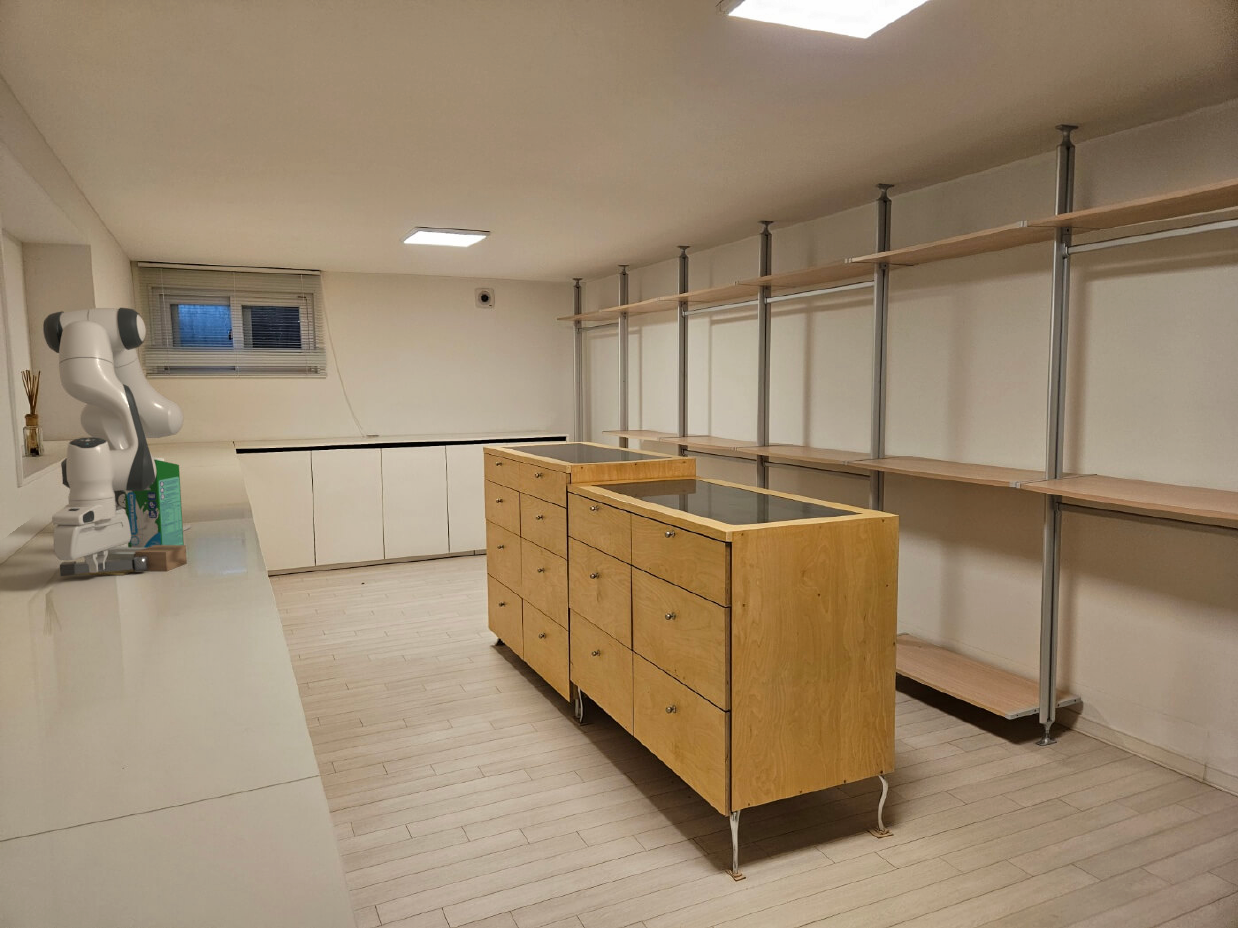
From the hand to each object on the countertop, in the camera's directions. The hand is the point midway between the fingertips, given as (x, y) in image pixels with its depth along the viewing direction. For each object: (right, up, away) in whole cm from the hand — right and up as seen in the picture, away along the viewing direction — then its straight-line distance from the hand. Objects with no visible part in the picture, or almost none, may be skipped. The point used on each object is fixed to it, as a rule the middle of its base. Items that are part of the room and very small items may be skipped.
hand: (97, 571), depth 186 cm
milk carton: (-1, +1, +26) cm, 26 cm away
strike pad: (-2, -1, +6) cm, 6 cm away
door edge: (+2, 0, +12) cm, 12 cm away
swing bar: (0, -1, +3) cm, 3 cm away
